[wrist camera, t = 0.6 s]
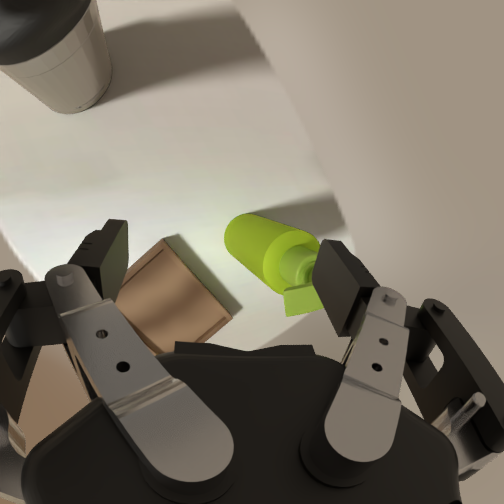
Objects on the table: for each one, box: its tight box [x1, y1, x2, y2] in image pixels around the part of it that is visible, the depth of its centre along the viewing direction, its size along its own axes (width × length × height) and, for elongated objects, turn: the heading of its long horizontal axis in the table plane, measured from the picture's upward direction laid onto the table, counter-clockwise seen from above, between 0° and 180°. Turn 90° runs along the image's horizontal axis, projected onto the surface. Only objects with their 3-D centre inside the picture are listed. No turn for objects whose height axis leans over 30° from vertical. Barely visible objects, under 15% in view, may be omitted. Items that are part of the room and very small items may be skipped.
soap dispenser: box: [224, 214, 324, 317], centre depth 29 cm, size 6×7×20 cm
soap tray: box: [115, 238, 233, 356], centre depth 36 cm, size 13×11×2 cm
